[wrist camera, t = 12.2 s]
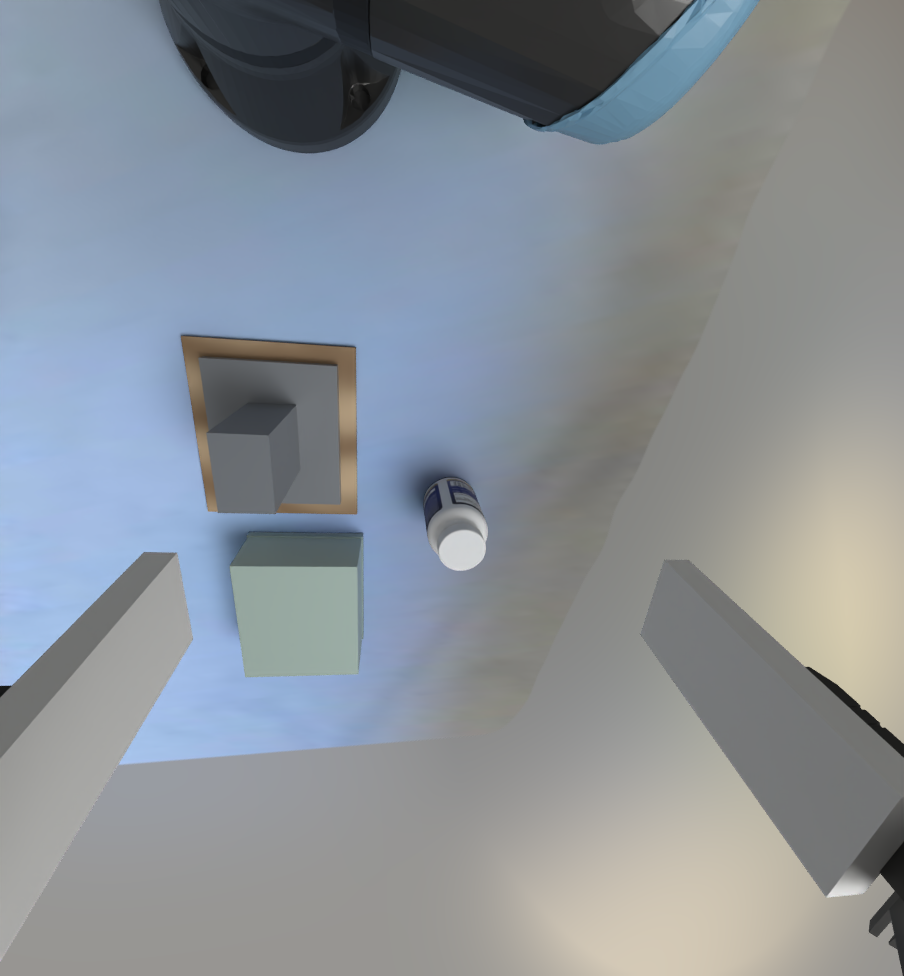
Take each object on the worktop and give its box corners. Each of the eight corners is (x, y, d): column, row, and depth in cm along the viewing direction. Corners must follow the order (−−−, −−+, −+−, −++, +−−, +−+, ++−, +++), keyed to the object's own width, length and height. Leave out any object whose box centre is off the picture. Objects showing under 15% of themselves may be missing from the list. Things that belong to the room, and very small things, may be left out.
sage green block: (249, 531, 44) (228, 565, 39) (363, 533, 46) (358, 565, 40) (261, 635, 49) (244, 678, 44) (363, 634, 51) (359, 674, 45)
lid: (203, 356, 37) (139, 376, 28) (338, 364, 38) (319, 386, 29) (223, 497, 42) (174, 553, 33) (341, 500, 44) (326, 555, 34)
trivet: (182, 335, 37) (180, 336, 36) (355, 347, 38) (355, 347, 38) (209, 509, 43) (208, 511, 42) (357, 512, 45) (356, 514, 44)
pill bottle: (434, 531, 47) (442, 587, 38) (415, 487, 44) (419, 536, 35) (482, 512, 46) (502, 564, 37) (465, 468, 44) (482, 512, 35)
